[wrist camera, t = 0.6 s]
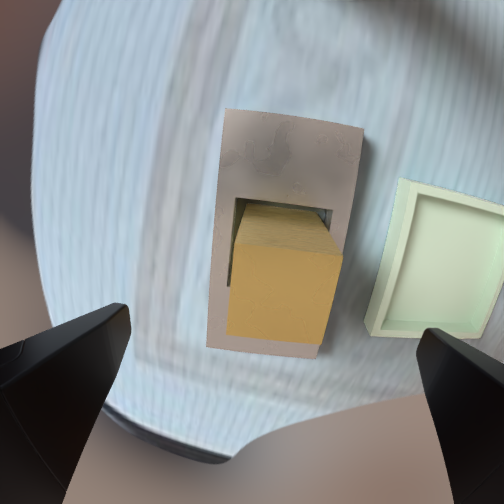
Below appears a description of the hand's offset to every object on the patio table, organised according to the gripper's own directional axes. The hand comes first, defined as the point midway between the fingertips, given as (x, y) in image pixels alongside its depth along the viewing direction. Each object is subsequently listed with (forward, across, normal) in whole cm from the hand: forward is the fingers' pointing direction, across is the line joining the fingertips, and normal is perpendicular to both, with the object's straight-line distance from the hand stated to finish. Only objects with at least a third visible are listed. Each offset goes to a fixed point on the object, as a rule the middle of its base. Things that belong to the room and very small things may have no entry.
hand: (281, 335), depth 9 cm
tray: (+13, -13, +2) cm, 18 cm away
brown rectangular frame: (+13, 0, +1) cm, 13 cm away
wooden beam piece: (+13, 0, +1) cm, 13 cm away
